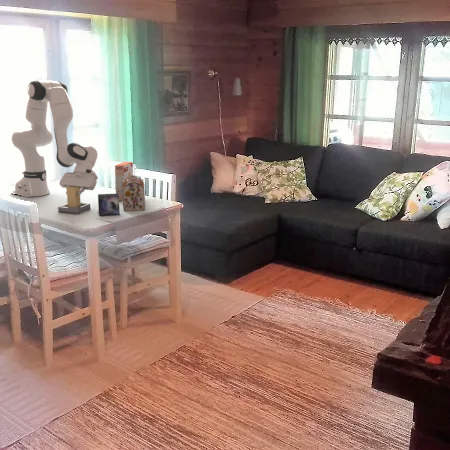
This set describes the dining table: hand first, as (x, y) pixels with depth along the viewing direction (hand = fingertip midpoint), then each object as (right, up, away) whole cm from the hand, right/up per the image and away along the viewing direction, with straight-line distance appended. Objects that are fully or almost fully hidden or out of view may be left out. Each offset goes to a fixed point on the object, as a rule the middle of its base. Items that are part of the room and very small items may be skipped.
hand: (72, 194), depth 287 cm
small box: (+20, -11, -3) cm, 23 cm away
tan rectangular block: (0, -6, +2) cm, 6 cm away
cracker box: (+22, -1, +31) cm, 38 cm away
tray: (0, -8, +3) cm, 9 cm away
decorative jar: (+31, -7, +10) cm, 33 cm away
